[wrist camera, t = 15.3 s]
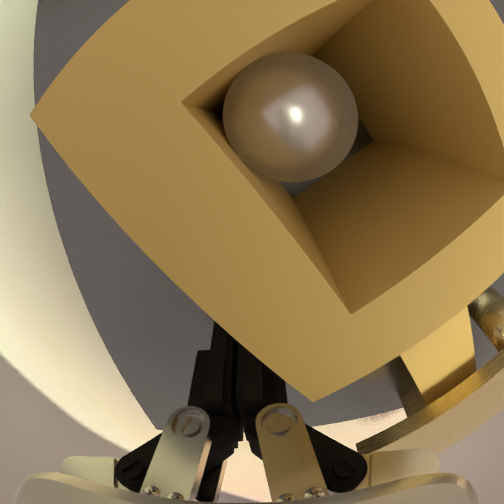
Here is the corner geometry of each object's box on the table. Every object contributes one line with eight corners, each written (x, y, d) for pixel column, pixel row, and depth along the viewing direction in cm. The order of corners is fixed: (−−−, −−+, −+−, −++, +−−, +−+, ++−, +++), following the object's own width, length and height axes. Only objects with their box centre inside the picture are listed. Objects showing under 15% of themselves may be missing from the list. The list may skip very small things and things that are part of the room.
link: (159, 112, 8) (29, 115, 2) (319, 2, 6) (396, -101, 1) (390, 392, 14) (420, 474, 9) (476, 333, 12) (523, 404, 7)
